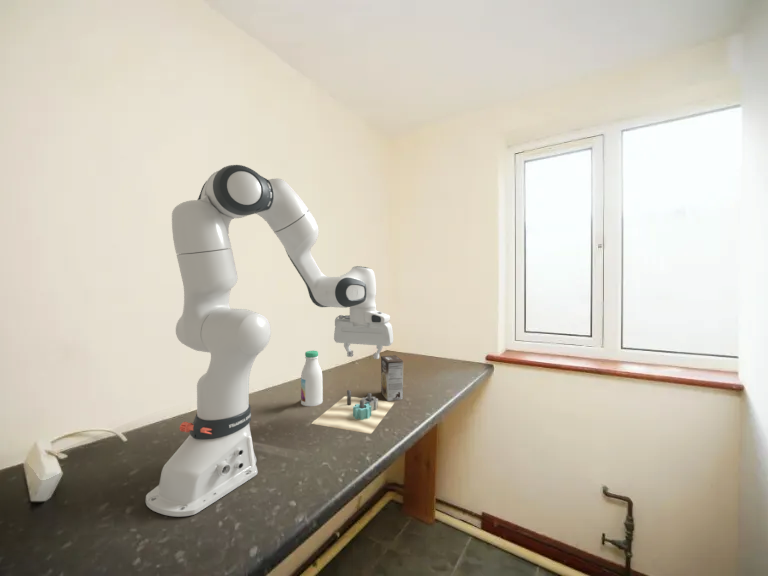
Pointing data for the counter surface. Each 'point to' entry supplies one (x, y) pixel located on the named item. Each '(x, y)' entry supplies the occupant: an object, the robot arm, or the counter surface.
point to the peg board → (344, 419)
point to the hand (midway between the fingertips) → (363, 357)
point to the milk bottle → (311, 381)
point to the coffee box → (392, 377)
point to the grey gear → (371, 402)
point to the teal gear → (361, 411)
